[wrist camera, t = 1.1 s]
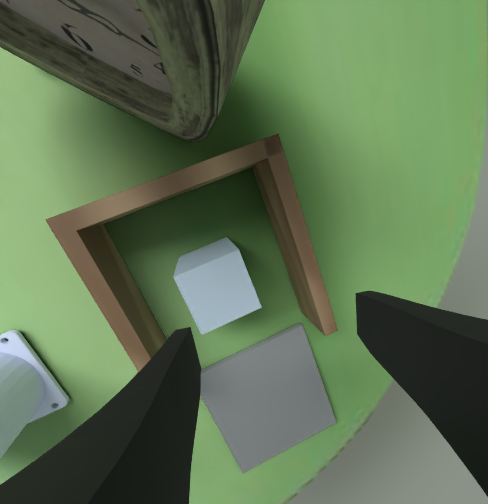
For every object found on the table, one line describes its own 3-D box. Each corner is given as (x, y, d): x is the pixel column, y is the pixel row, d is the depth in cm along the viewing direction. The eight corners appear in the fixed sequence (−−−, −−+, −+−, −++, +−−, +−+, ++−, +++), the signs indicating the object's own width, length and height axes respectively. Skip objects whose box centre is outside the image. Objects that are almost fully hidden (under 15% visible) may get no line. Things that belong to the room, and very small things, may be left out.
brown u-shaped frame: (170, 374, 23) (165, 415, 18) (80, 215, 18) (45, 219, 14) (312, 307, 24) (337, 330, 20) (260, 148, 20) (278, 133, 16)
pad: (242, 468, 27) (242, 473, 26) (191, 374, 23) (191, 378, 23) (334, 418, 28) (336, 422, 28) (300, 322, 24) (302, 325, 24)
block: (199, 300, 22) (201, 335, 16) (179, 256, 21) (173, 277, 15) (244, 280, 22) (261, 307, 16) (226, 236, 21) (238, 249, 15)
